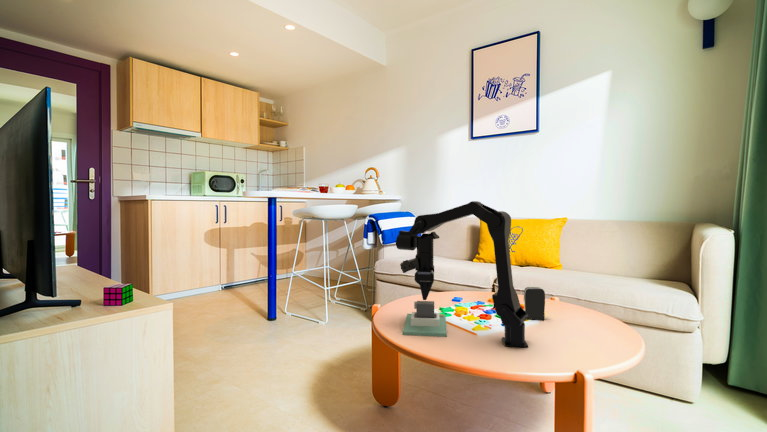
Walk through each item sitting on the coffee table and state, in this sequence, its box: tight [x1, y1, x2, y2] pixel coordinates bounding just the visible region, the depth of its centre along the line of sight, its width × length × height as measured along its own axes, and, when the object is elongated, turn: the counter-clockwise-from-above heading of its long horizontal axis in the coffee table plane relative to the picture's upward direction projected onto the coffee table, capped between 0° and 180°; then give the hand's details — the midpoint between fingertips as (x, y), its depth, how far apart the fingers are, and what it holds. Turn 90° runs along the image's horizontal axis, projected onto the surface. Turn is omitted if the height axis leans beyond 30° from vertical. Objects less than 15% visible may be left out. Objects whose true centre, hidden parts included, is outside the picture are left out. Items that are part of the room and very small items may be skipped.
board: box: [402, 311, 448, 338], centre depth 128 cm, size 20×14×4 cm
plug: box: [413, 300, 435, 318], centre depth 128 cm, size 4×7×7 cm, turn 82°
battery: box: [523, 286, 546, 321], centre depth 135 cm, size 7×4×11 cm, turn 81°
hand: (425, 296), depth 128 cm, fingers open, 9 cm apart
